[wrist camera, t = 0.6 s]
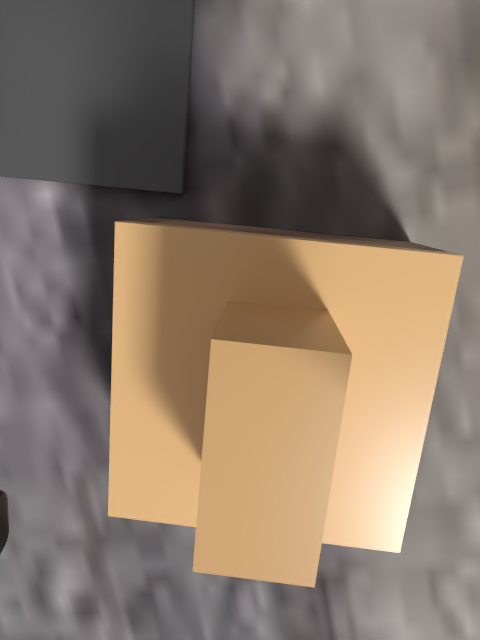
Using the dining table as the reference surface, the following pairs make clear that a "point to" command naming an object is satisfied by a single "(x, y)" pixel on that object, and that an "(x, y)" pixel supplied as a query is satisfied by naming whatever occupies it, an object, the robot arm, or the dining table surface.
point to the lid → (272, 390)
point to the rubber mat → (96, 91)
